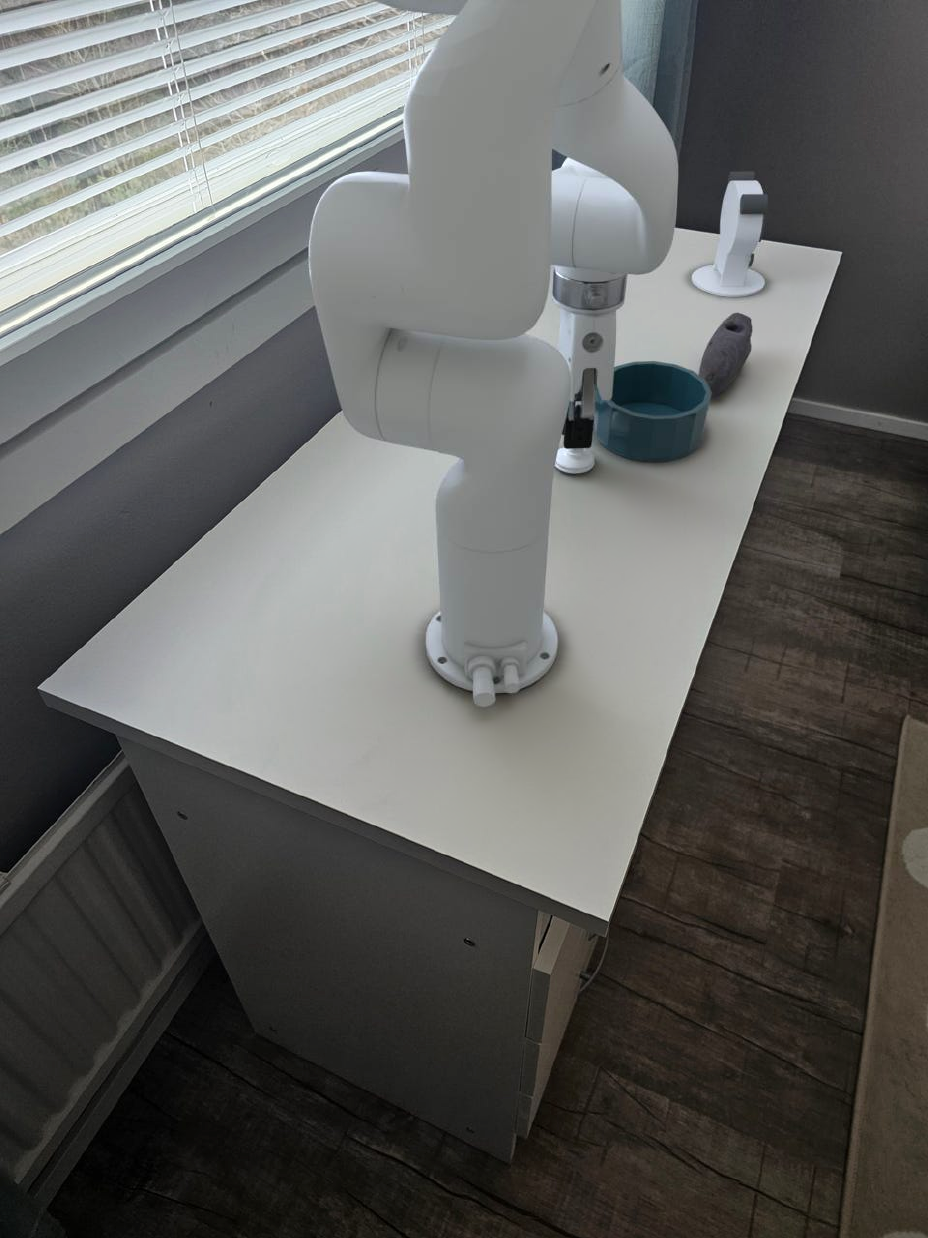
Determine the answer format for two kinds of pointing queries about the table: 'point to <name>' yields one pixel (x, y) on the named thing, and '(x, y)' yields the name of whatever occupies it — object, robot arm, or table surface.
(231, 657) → the table surface
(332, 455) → the table surface
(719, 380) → the perforated stone tool
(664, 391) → the bowl
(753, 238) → the white stand
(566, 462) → the chess piece
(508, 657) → the robot arm
